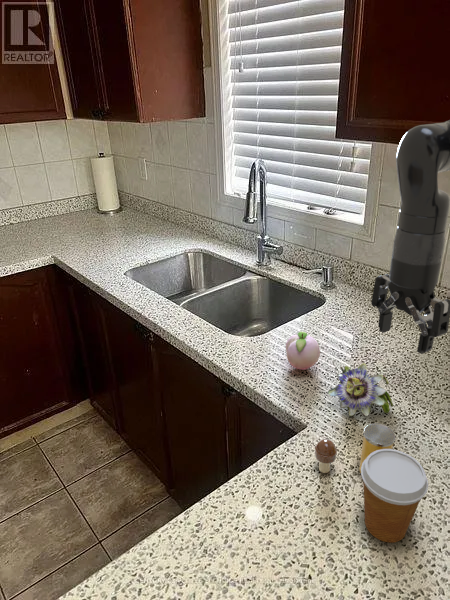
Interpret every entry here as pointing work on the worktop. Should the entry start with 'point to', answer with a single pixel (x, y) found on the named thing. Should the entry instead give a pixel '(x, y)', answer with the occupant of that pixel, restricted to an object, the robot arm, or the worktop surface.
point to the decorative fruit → (302, 351)
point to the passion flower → (360, 390)
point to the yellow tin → (376, 440)
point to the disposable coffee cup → (391, 492)
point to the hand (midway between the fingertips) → (402, 340)
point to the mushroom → (325, 454)
